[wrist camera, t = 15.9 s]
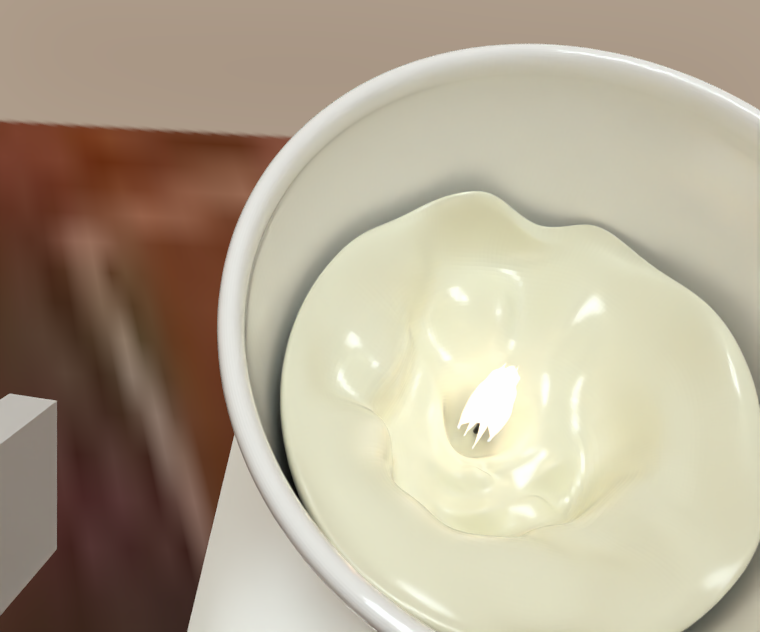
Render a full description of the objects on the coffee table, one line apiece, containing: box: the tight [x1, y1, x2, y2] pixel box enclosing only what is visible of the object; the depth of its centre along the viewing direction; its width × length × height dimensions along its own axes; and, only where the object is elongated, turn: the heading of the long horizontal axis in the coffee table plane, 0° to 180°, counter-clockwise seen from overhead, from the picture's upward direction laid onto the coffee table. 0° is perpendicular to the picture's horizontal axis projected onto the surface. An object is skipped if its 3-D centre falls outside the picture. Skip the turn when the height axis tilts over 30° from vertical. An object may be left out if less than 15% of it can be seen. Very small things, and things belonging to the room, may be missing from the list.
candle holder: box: [217, 44, 760, 632], centre depth 14 cm, size 10×10×12 cm
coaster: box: [187, 435, 372, 632], centre depth 20 cm, size 13×13×1 cm
